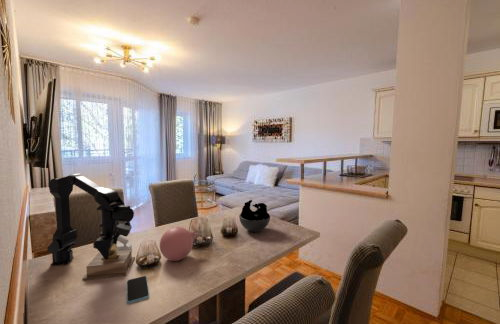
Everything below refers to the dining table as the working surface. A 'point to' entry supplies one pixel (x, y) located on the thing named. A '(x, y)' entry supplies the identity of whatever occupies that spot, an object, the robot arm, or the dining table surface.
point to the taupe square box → (109, 266)
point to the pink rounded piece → (177, 243)
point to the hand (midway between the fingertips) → (110, 254)
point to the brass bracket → (112, 252)
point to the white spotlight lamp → (123, 244)
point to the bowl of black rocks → (254, 217)
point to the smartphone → (137, 289)
